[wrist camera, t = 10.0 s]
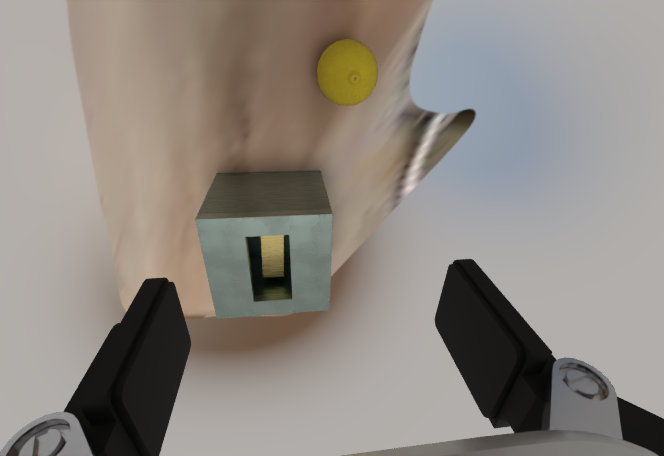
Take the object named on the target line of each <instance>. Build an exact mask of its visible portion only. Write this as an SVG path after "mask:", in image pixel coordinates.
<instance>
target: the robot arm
mask: <svg viewBox="0 0 664 456" xmlns="http://www.w3.org/2000/svg"><path fill="white" fill-rule="evenodd" d="M435 325H436V328H437V330H438V332H439V334H440V335H441V337H442V339H443V341H444V343H445V345H446V347H447V349H448V351H449V352H450V354H451V356H452V358H453V360H454V362H455V364H456V366H457V367H458V369H459V371H460V373H461V375H462V377H463V379H464V381H465V383H466V385H467V386H468V388H469V390H470V392H471V394H472V396H473V398H474V400H475V402H476V403H477V405H478V407H479V409H480V411H481V413H482V414H483V416H484V417H486V418H489V420H490V421H491V423H492V425H493V427H494V428H501V427H508V426H511V428H512V429H513V431H514V433H513V434H503V435H494V436H485V437H477V438H470V439H462V440H455V441H447V442H439V443H432V444H424V445H417V446H409V447H402V448H396V449H395V448H394V449H387V450H381V451H372V452H366V453H358V454H350V455H343V456H664V419H663V418H661V417H659V416H656V415H655V414H653V413H650V412H648V411H646V410H644V409H642V408H640V407H638V406H636V405H633V404H632V403H629V402H627V401H625V400H623V399H621V398H619V397H617V395H616V392H615V389H614V387H613V385H612V384H611V382H610V381H609V380H608V379H607V378H606V377H605V376H604V375H603V374H602V373H601V372H600V371H598V370H597V369H596V368H594V367H593V366H591V365H589V364H587V363H585V362H583V361H580V360H577V359H574V358H561V359H558V360H556V359H555V358H554V357H553V355H552V351H551V350H550V349H549V348H548V347H547V346H546V344H545V343H544V342H543V341H542V340H541V338H540V337H539V336H538V335H537V334H536V333H535V331H534V330H533V329H532V328H531V327H530V326H529V325H528V323H527V322H526V321H525V320H524V319H523V317H522V316H521V315H520V314H519V313H518V312H517V311H516V309H515V308H514V307H513V306H512V305H511V303H510V302H509V301H508V300H507V299H506V298H505V296H504V295H503V294H502V293H501V292H500V291H499V289H498V288H497V287H496V286H495V285H494V284H493V282H492V281H491V280H490V279H489V278H488V276H487V275H486V274H485V273H484V272H483V271H482V269H481V268H480V267H479V266H478V265H477V264H476V262H475V261H474V260H472V259H463V260H455V261H454V262H453V264H451V265H449V267H448V270H447V274H446V278H445V282H444V286H443V289H442V293H441V297H440V301H439V304H438V308H437V312H436V316H435ZM190 347H191V340H190V335H189V332H188V329H187V325H186V322H185V318H184V315H183V311H182V308H181V305H180V301H179V298H178V294H177V291H176V287H175V284H174V283H173V282H169V281H168V279H167V278H152V279H146V280H145V281H144V282H143V284H142V286H141V287H140V289H139V291H138V293H137V295H136V296H135V298H134V300H133V302H132V303H131V305H130V307H129V309H128V311H127V312H126V314H125V316H124V318H123V319H122V321H121V323H118V324H116V325H115V326H114V327H113V328H112V329H111V331H110V333H109V334H108V336H107V338H106V339H105V341H104V343H103V345H102V346H101V348H100V350H99V352H98V353H97V355H96V357H95V359H94V360H93V362H92V363H91V365H90V367H89V369H88V370H87V372H86V374H85V376H84V377H83V379H82V381H81V382H80V384H79V386H78V388H77V390H76V391H75V393H74V394H73V396H72V398H71V400H70V401H69V403H68V405H67V407H66V408H65V410H64V412H56V413H52V414H48V415H45V416H43V417H41V418H39V419H37V420H35V421H33V422H31V423H29V424H28V425H27V426H25V427H24V428H22V429H21V430H20V431H18V432H17V433H16V434H15V435H14V436H13V437H12V438H11V439H10V440H9V441H8V442H7V444H6V445H5V446H4V448H3V449H2V450H1V452H0V456H159V454H160V451H161V447H162V443H163V440H164V437H165V433H166V430H167V427H168V423H169V420H170V416H171V413H172V410H173V406H174V403H175V399H176V396H177V393H178V389H179V386H180V382H181V379H182V375H183V372H184V369H185V365H186V361H187V358H188V355H189V352H190Z"/></svg>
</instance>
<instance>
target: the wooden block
mask: <svg viewBox="0 0 664 456" xmlns="http://www.w3.org/2000/svg"><path fill="white" fill-rule="evenodd" d="M261 250H262V270H263V277H284V235H274V236H261Z"/></svg>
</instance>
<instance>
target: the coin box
mask: <svg viewBox="0 0 664 456" xmlns="http://www.w3.org/2000/svg"><path fill="white" fill-rule="evenodd" d="M332 216H333V214H332V210H331V207H330V203H329V200H328V196H327V193H326V189H325V186H324V182H323V179H322V175H321V172H320V171H295V172H251V173H217V174H216V177H215V179H214V181H213V183H212V185H211V187H210V189H209V191H208V193H207V196H206V198H205V200H204V202H203V204H202V206H201V208H200V210H199V212H198V215H197V217H196V219H195V221H196V226H197V230H198V235H199V239H200V244H201V249H202V253H203V258H204V262H205V267H206V271H207V276H208V281H209V285H210V290H211V294H212V299H213V303H214V308H215V313H216V317H217V319H220V318H233V317H246V316H259V315H271V314H284V313H296V312H310V311H323V310H329V309H330V281H331V248H332ZM274 235H284V277H263V270H262V250H261V236H274Z"/></svg>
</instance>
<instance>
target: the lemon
mask: <svg viewBox="0 0 664 456" xmlns="http://www.w3.org/2000/svg"><path fill="white" fill-rule="evenodd" d="M377 74H378V69H377V64H376V60H375V58H374V56H373V54H372V53H371V51H370V50H369V49H368V47H366V46H365V45H364V44H362V43H361V42H358V41H355V40H350V39H344V40H340V41H336V42H335V43H333V44H331V45H330V46H329V47H328V48H327V49H326V50H325V51H324V52H323V54H322V56H321V57H320V60H319V63H318V67H317V78H318V83H319V86H320V88H321V90H322V92H323V93H324V94H325V96H326V97H327V98H329V99H330V100H331V101H332V102H334V103H337V104H339V105H344V106H350V105H355V104H358V103H360V102H362V101H363V100H365V99H366V98H367V97H368V96H369V95H370V94H371V93H372V91H373V89H374V87H375V85H376V81H377Z"/></svg>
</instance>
